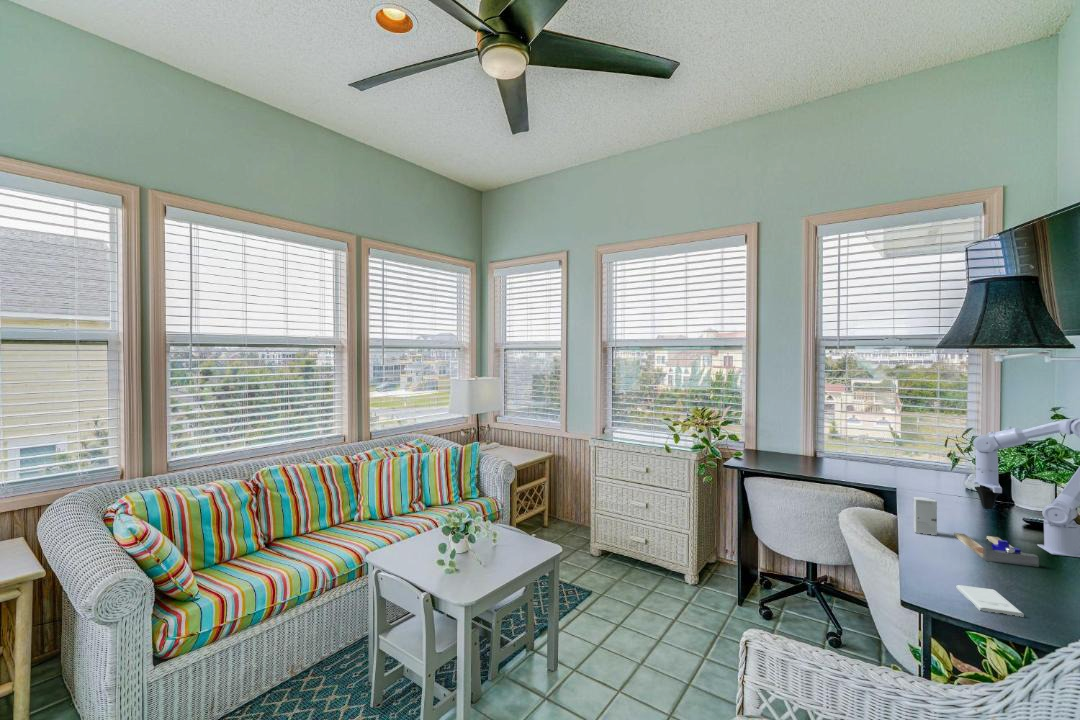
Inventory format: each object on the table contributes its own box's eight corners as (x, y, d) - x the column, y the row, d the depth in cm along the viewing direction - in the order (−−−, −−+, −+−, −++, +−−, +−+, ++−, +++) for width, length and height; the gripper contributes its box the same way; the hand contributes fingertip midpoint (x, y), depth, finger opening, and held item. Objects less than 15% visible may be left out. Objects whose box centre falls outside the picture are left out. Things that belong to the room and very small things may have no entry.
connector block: (1034, 564, 140) (1034, 550, 141) (1038, 567, 139) (1038, 552, 139) (983, 558, 145) (983, 544, 145) (986, 561, 143) (986, 547, 143)
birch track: (998, 540, 160) (997, 536, 160) (1034, 564, 140) (1034, 560, 140) (953, 535, 164) (953, 532, 164) (983, 558, 145) (983, 554, 145)
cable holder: (992, 551, 151) (991, 539, 151) (1006, 553, 149) (1006, 540, 149) (1005, 561, 143) (1005, 548, 143) (1020, 563, 142) (1020, 549, 142)
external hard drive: (995, 595, 123) (1024, 619, 112) (956, 590, 126) (980, 613, 115) (995, 589, 123) (1023, 612, 112) (956, 584, 126) (980, 606, 115)
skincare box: (915, 533, 167) (914, 499, 167) (913, 529, 171) (912, 496, 171) (937, 536, 164) (937, 501, 164) (934, 532, 168) (934, 498, 168)
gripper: (962, 464, 172) (963, 501, 172) (982, 473, 159) (983, 513, 159) (987, 465, 170) (988, 503, 170) (1009, 474, 156) (1010, 515, 156)
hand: (987, 508), depth 164 cm, fingers closed
